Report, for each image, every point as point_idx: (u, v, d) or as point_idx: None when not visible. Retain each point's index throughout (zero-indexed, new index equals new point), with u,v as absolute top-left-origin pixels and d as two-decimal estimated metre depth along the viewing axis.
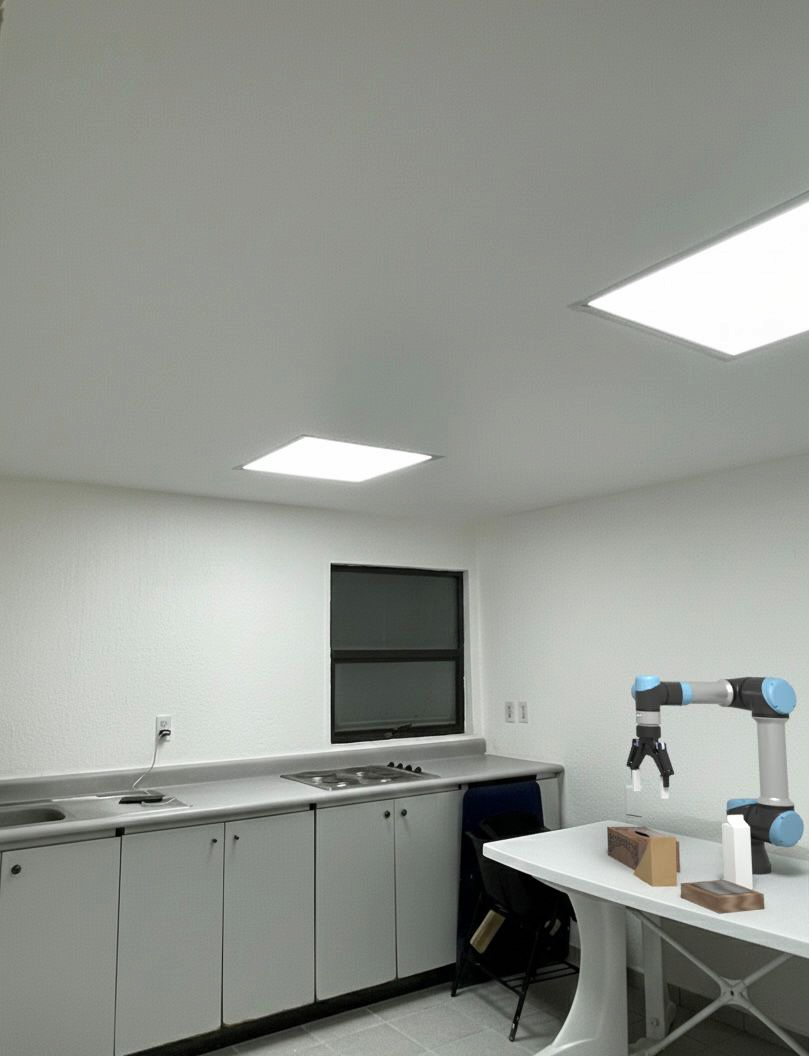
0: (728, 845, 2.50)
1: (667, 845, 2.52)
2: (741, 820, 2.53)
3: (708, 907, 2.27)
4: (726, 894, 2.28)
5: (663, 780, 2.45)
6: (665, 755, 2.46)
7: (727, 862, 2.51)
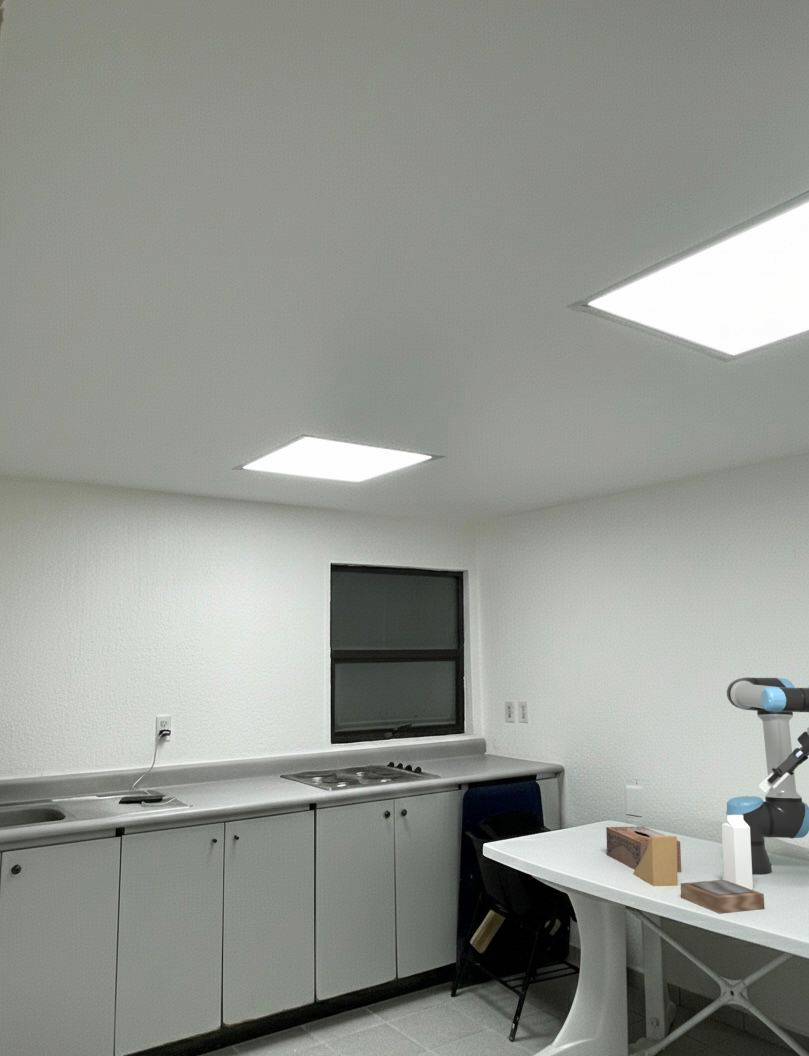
0: (728, 845, 2.50)
1: (668, 845, 2.53)
2: (741, 820, 2.53)
3: (708, 907, 2.27)
4: (726, 894, 2.28)
5: None
6: None
7: (727, 862, 2.51)
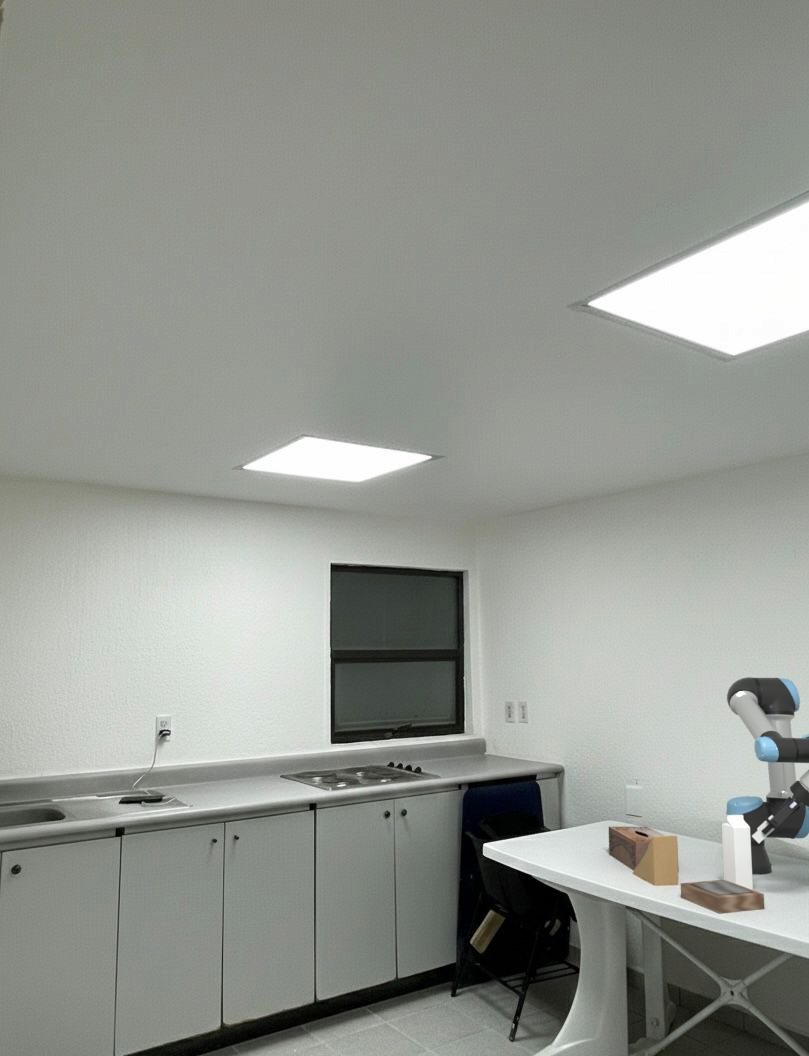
0: (728, 845, 2.50)
1: (668, 844, 2.54)
2: (741, 820, 2.53)
3: (708, 907, 2.27)
4: (726, 894, 2.28)
5: None
6: None
7: (727, 862, 2.51)
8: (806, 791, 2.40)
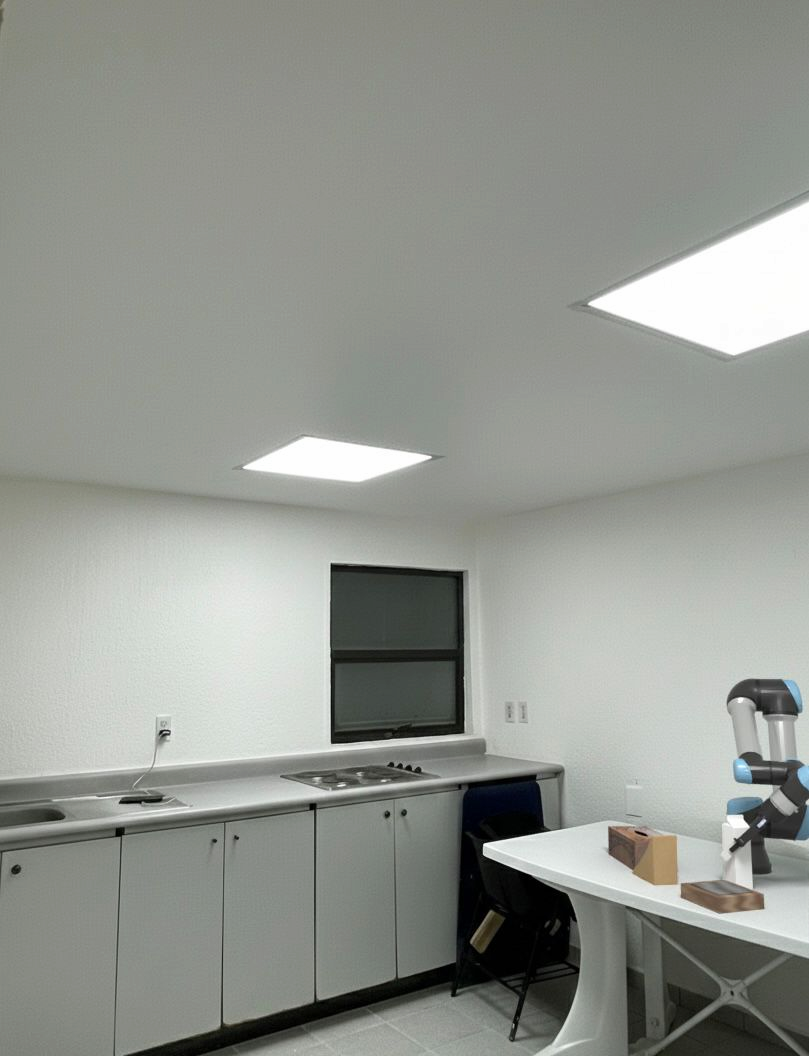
0: (728, 845, 2.50)
1: (668, 844, 2.54)
2: (741, 820, 2.53)
3: (708, 907, 2.27)
4: (726, 894, 2.28)
5: None
6: None
7: (727, 862, 2.51)
8: (776, 809, 2.44)
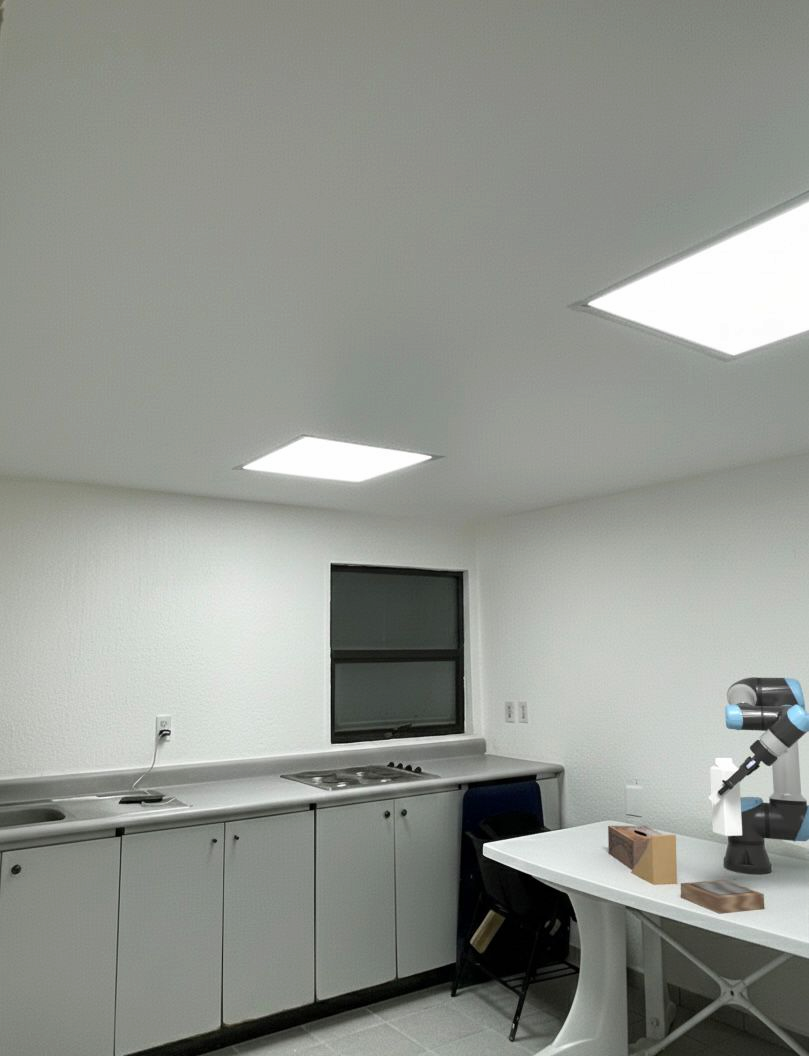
0: (717, 788, 2.43)
1: (667, 843, 2.55)
2: (730, 763, 2.45)
3: (708, 907, 2.27)
4: (726, 894, 2.28)
5: None
6: None
7: (715, 806, 2.43)
8: (765, 749, 2.37)
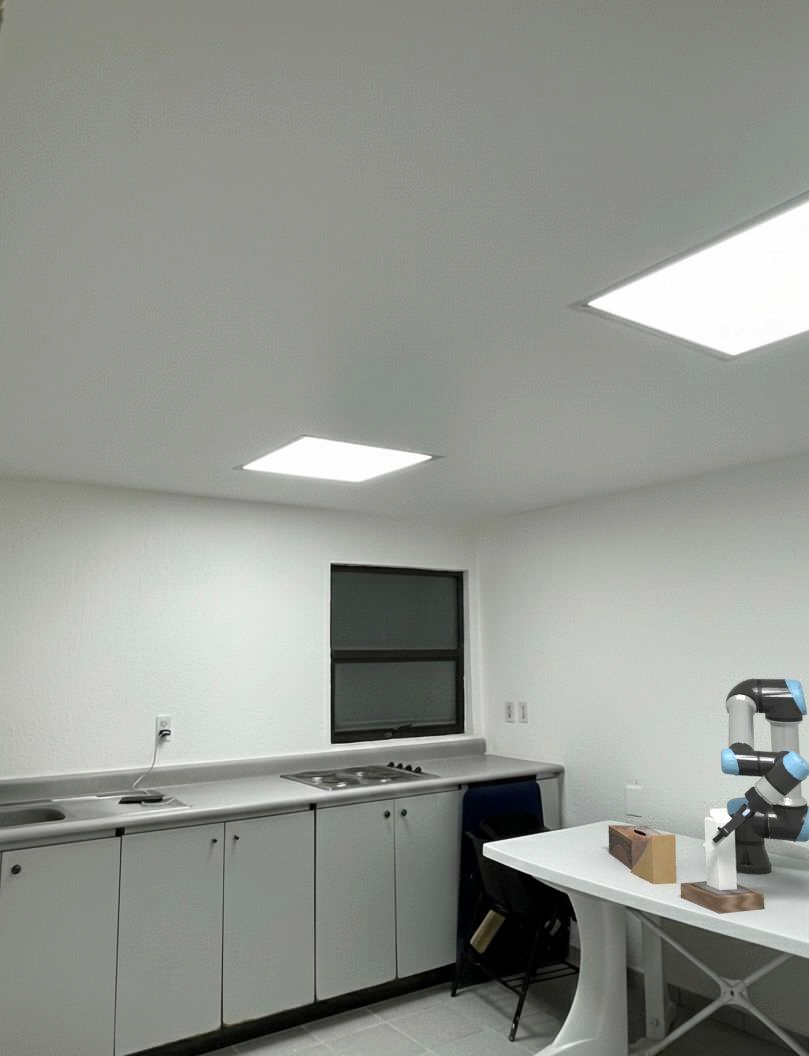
0: None
1: (667, 843, 2.56)
2: (725, 814, 2.38)
3: (708, 907, 2.27)
4: (726, 894, 2.28)
5: None
6: None
7: (709, 858, 2.36)
8: (760, 798, 2.30)
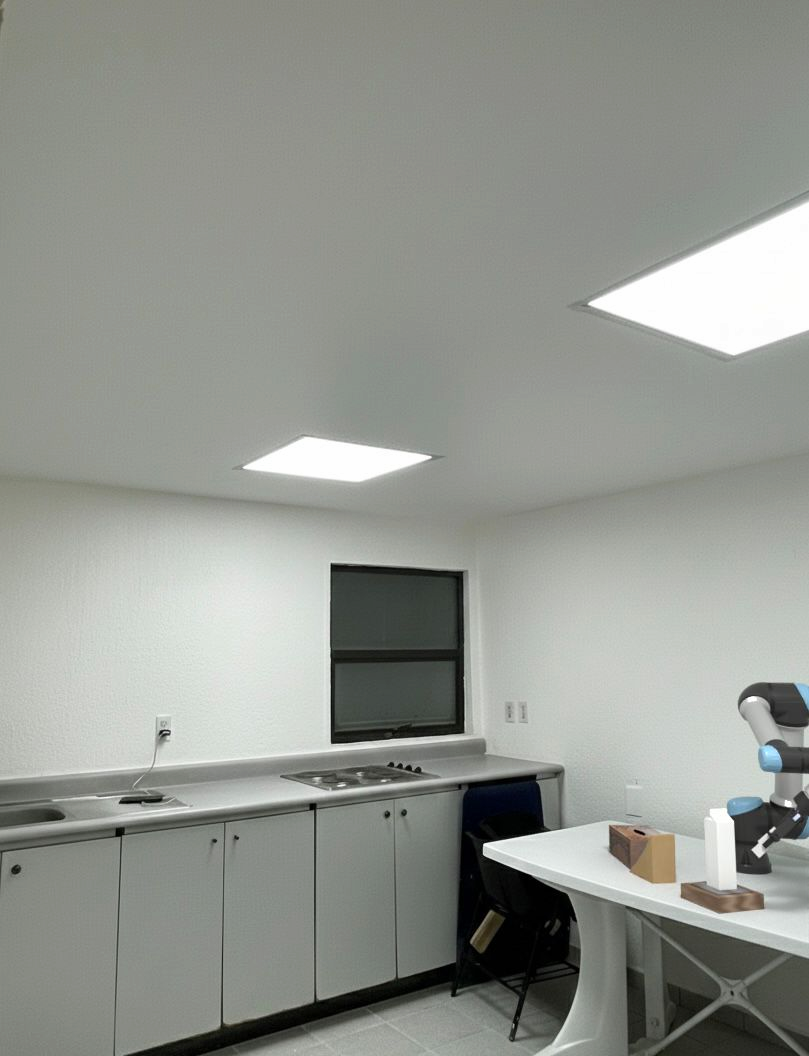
0: (711, 840, 2.36)
1: (666, 843, 2.56)
2: (725, 814, 2.38)
3: (708, 907, 2.27)
4: (726, 894, 2.28)
5: None
6: None
7: (709, 858, 2.36)
8: None
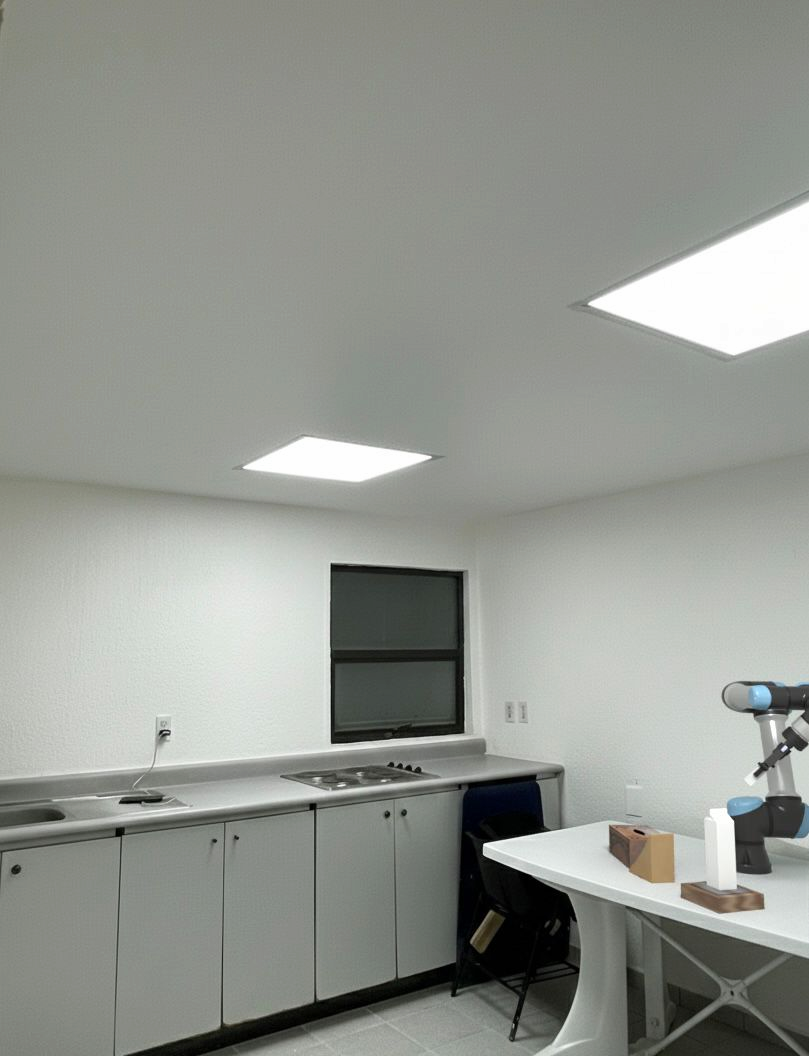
0: (711, 840, 2.36)
1: (665, 842, 2.57)
2: (725, 814, 2.38)
3: (708, 907, 2.27)
4: (726, 894, 2.28)
5: None
6: None
7: (709, 858, 2.36)
8: (797, 735, 2.46)
